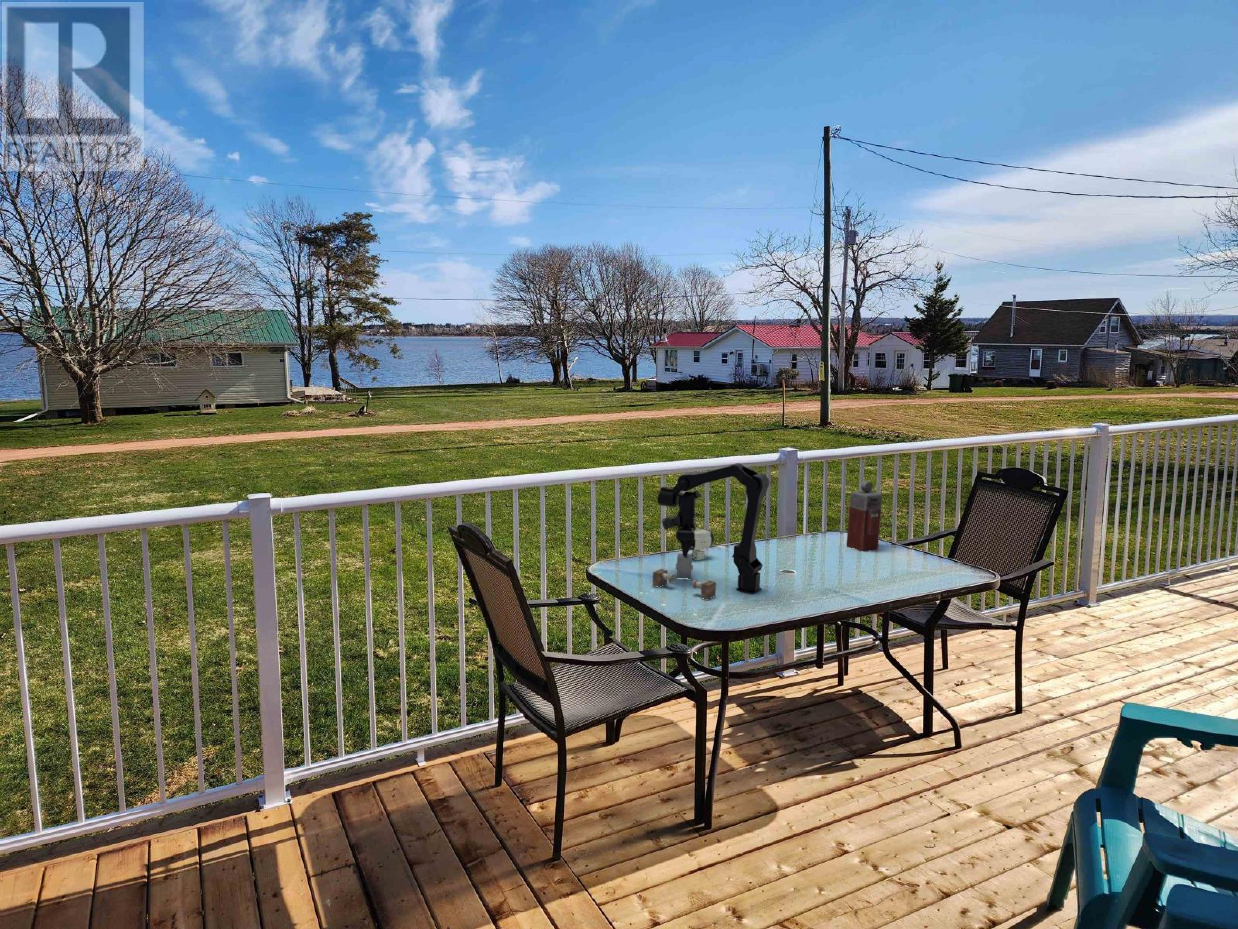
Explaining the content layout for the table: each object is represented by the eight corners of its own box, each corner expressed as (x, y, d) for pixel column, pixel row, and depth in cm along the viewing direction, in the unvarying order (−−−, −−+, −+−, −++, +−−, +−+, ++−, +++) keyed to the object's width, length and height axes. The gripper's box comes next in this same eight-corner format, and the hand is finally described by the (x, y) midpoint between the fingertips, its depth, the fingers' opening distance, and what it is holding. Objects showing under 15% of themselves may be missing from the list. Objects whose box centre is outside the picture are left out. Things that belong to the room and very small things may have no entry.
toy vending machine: (866, 553, 310) (871, 484, 305) (846, 546, 319) (851, 480, 315) (882, 551, 314) (888, 483, 309) (862, 544, 323) (867, 478, 319)
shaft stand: (715, 596, 252) (716, 581, 251) (707, 600, 248) (708, 585, 247) (660, 582, 265) (661, 568, 264) (652, 586, 261) (653, 572, 260)
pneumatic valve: (681, 559, 294) (683, 529, 292) (705, 555, 300) (707, 525, 298) (690, 563, 289) (692, 532, 287) (714, 559, 295) (716, 528, 293)
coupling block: (692, 576, 274) (693, 554, 272) (692, 580, 269) (693, 558, 267) (675, 575, 274) (676, 553, 273) (675, 579, 269) (675, 557, 268)
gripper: (665, 502, 278) (664, 544, 280) (661, 513, 259) (660, 558, 262) (696, 504, 276) (694, 546, 279) (695, 515, 258) (693, 560, 261)
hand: (685, 552), depth 270 cm, fingers open, 9 cm apart
